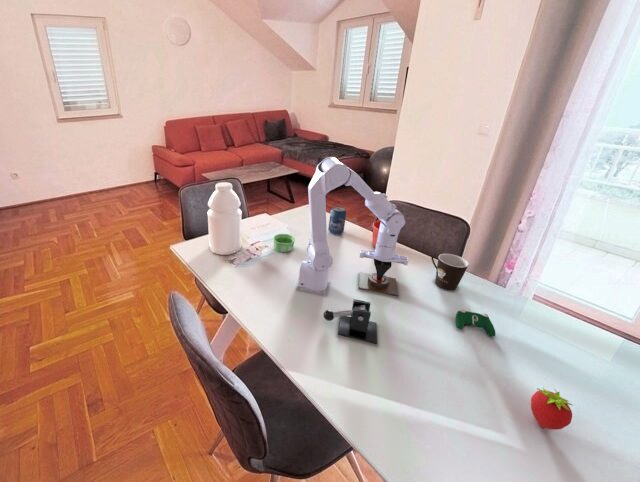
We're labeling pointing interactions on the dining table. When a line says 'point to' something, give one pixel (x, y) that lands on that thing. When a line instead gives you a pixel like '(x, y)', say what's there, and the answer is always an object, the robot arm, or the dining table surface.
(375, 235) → the flower pot
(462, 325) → the gaming controller
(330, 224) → the soda can
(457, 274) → the coffee mug
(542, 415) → the strawberry
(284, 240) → the ramekin
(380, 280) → the button
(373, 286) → the button block
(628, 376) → the dining table surface
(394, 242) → the robot arm
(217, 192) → the bottle
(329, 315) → the lever
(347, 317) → the bracket
